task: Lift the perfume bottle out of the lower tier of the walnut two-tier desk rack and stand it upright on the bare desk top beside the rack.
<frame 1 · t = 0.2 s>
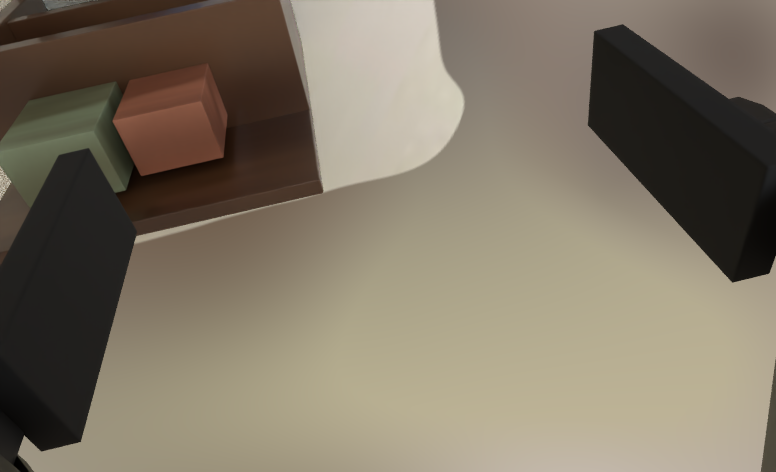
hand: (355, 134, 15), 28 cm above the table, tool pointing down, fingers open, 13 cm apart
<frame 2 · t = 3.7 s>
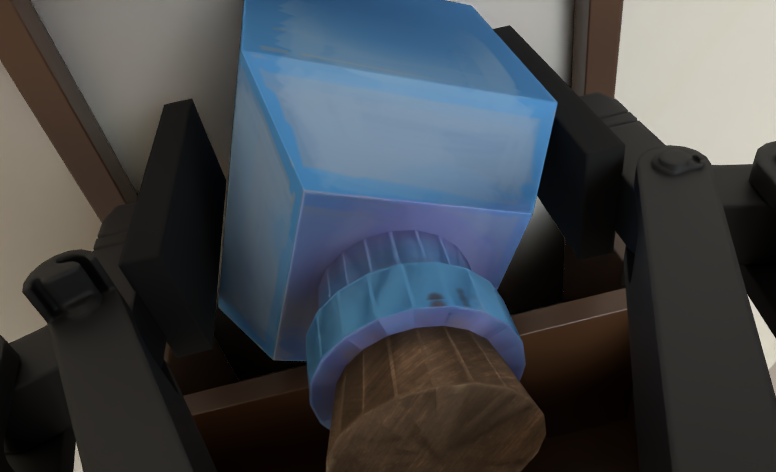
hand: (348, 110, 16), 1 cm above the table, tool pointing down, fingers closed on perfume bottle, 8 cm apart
desk rack: (343, 90, 17), on the table
perfume bottle: (343, 88, 18), resting in desk rack, touching gripper
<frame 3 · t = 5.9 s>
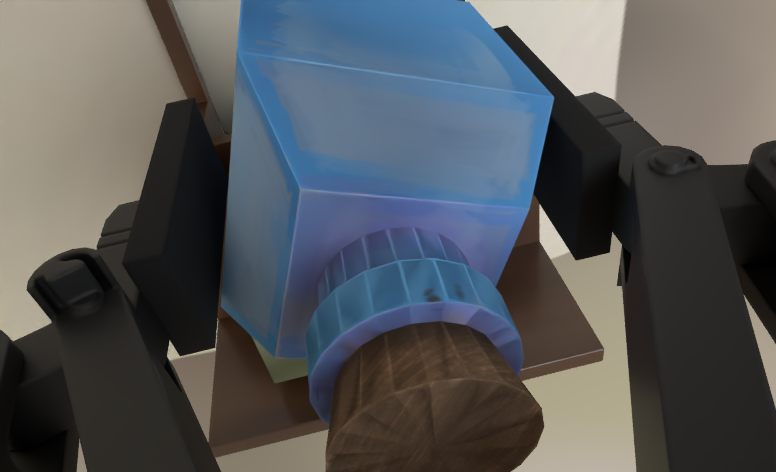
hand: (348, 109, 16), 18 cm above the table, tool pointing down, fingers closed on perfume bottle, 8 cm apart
perfume bottle: (342, 87, 18), point 16 cm above the table, touching gripper
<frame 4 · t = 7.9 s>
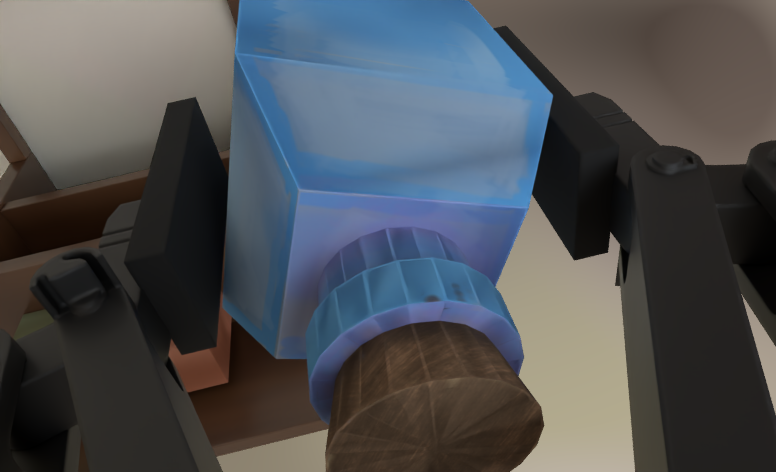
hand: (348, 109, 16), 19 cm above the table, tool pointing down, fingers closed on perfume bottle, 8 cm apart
desk rack: (103, 35, 32), on the table
perfume bottle: (342, 87, 18), point 17 cm above the table, touching gripper
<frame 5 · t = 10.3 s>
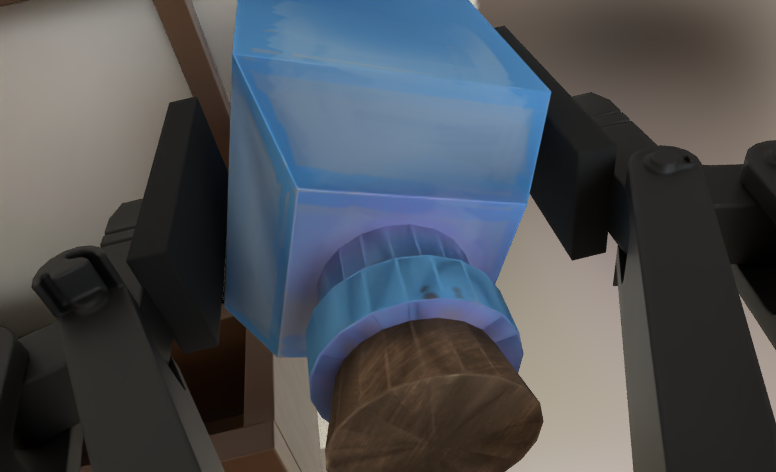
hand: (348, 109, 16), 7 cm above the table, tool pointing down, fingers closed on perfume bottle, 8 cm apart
desk rack: (24, 148, 22), on the table
perfume bottle: (342, 86, 18), point 5 cm above the table, touching gripper
when the fingers open (1 cm above the table, at t = 12.0 s): perfume bottle stays where it is, on the table.
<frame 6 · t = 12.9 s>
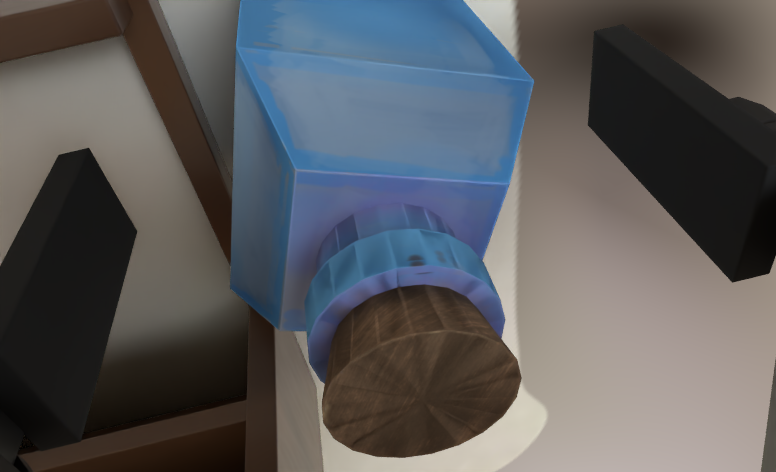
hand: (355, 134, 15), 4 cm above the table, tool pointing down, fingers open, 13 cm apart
perfume bottle: (341, 81, 18), on the table
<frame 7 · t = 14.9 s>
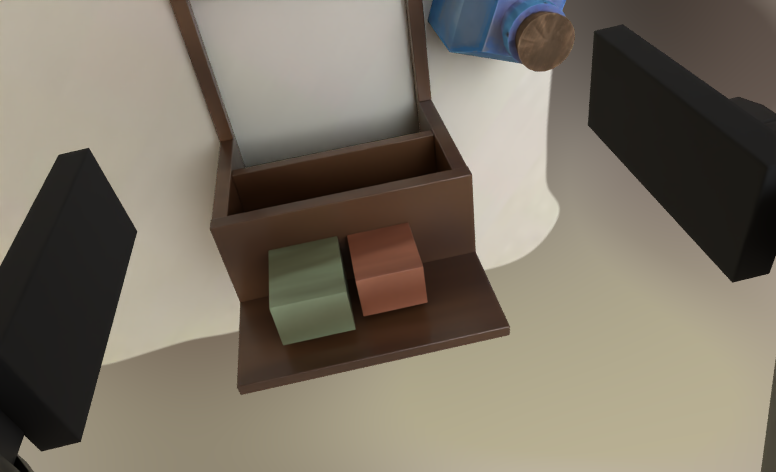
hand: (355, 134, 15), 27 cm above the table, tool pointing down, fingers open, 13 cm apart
desk rack: (310, 44, 41), on the table
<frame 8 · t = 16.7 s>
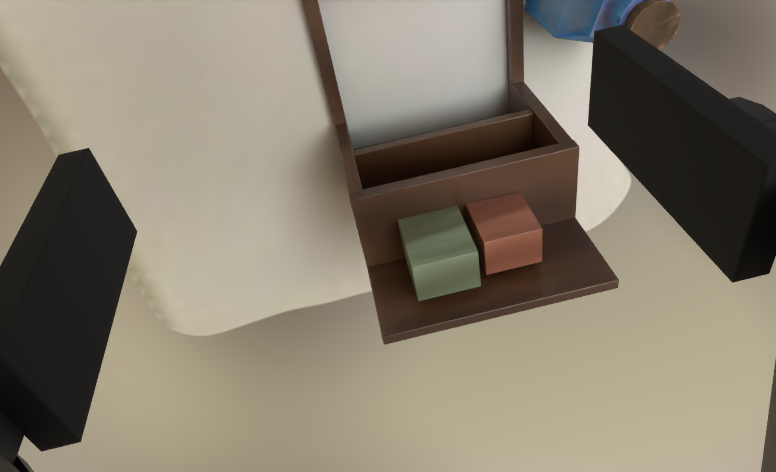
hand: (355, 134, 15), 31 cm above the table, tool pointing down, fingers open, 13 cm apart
desk rack: (418, 34, 45), on the table
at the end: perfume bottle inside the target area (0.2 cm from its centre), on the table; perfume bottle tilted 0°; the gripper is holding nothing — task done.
